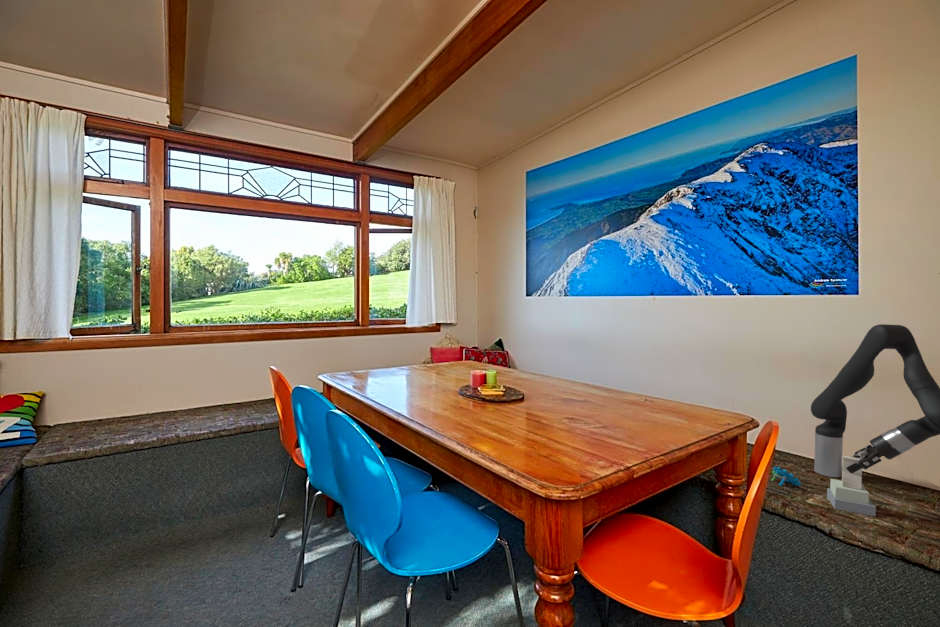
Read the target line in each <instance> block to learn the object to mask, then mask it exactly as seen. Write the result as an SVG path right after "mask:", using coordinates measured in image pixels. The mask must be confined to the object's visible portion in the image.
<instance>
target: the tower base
mask: <svg viewBox="0 0 940 627" xmlns="http://www.w3.org/2000/svg"><path fill="white" fill-rule="evenodd" d="M826 498H827V499H828V501H829V502H830V504H831V505H832V507H833V508H834V509H835V510H839V511H843V512H847V513H848V512H849V513H854V514H860V515H865V516H869V515H870V516H869V517H874V516H875V517H877V516H876V514H877V513H876V512H877V506H876V505H875V504H874V503H873V502H872V501H871V499H869V504H864V503H858V502H853V501H848V500H843V499H838V498H835V496H834V495H833V493H832V491H831V489H830V487H827V488H826Z"/></svg>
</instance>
